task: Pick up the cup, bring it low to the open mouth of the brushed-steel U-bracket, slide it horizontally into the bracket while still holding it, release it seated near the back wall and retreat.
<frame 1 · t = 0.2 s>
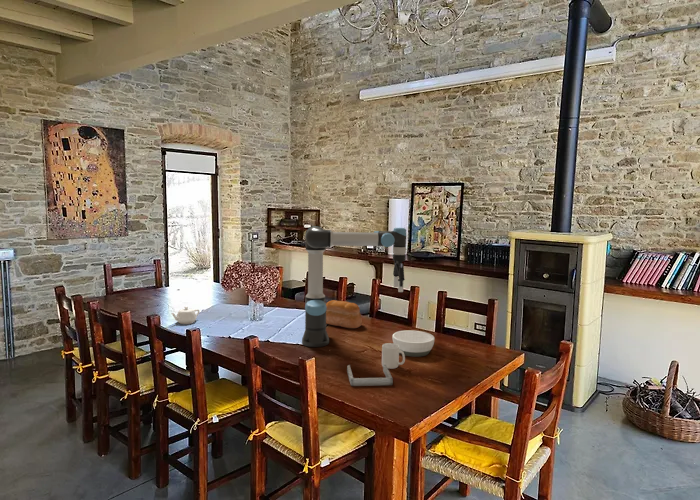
hand: (398, 289, 272), 28 cm above the table, fingers open, 13 cm apart
cup: (393, 367, 224), on the table
teapot: (185, 322, 295), on the table
bowl: (412, 351, 247), on the table
bracket: (368, 376, 211), on the table
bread: (341, 324, 297), on the table
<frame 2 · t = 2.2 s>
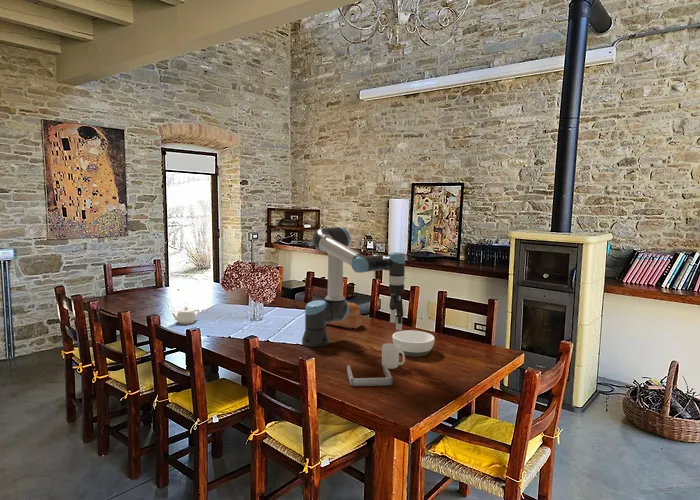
hand: (395, 326, 228), 18 cm above the table, fingers open, 13 cm apart
nothing on the table moved.
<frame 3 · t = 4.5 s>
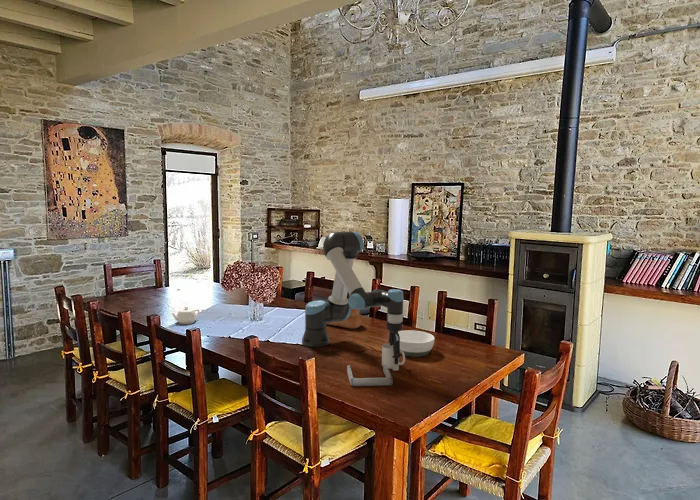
hand: (393, 366, 224), 0 cm above the table, fingers open, 10 cm apart
cup: (393, 367, 224), on the table, touching gripper
everything else where it was.
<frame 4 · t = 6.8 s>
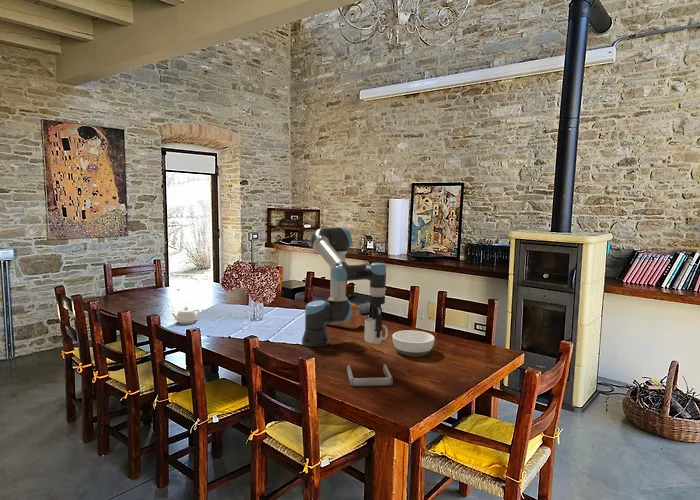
hand: (375, 340, 223), 13 cm above the table, fingers closed on cup, 9 cm apart
cup: (376, 341, 223), point 12 cm above the table, touching gripper
everything else where it was.
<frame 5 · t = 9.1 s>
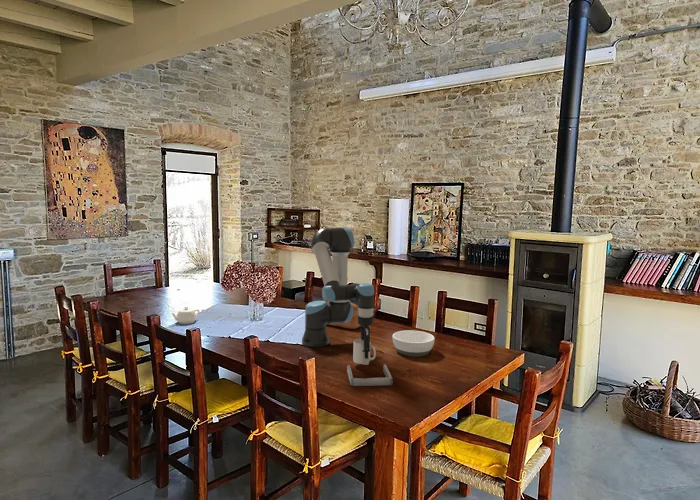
hand: (364, 360, 224), 2 cm above the table, fingers closed on cup, 9 cm apart
cup: (364, 362, 223), point 2 cm above the table, touching gripper
everything else where it was.
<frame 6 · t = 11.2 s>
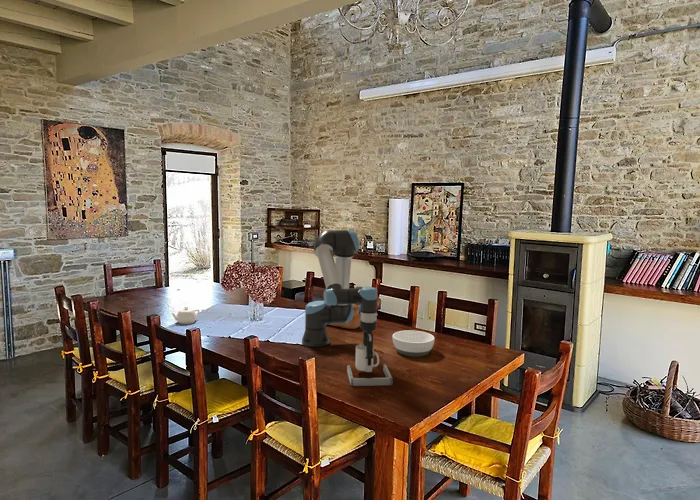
hand: (367, 367, 215), 3 cm above the table, fingers closed on cup, 9 cm apart
cup: (367, 369, 214), point 2 cm above the table, touching gripper
when the fingers open (2 cm above the table, at t = 13.0 s): cup drops 2 cm, on the table.
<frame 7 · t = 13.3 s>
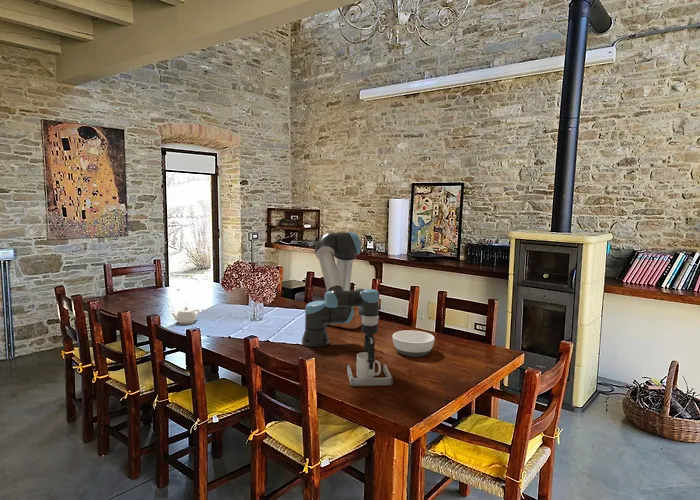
hand: (368, 370, 210), 3 cm above the table, fingers open, 10 cm apart
cup: (368, 377, 210), on the table
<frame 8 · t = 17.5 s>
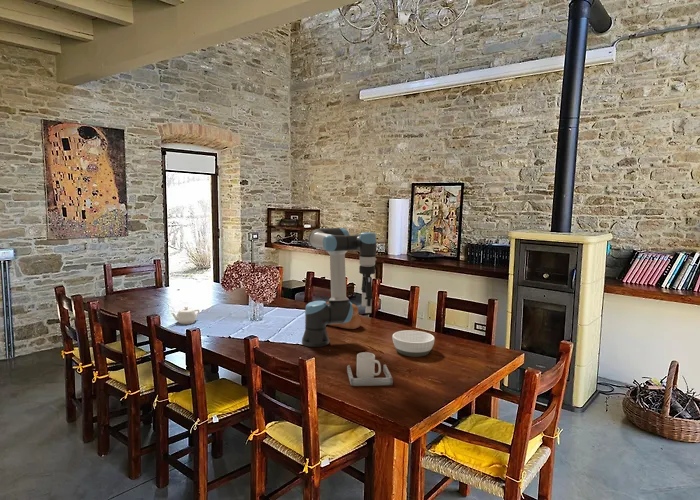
hand: (366, 309, 219), 29 cm above the table, fingers open, 13 cm apart
at the end: cup inside the target area (1.6 cm from its centre), on the table; cup tilted 0° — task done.
